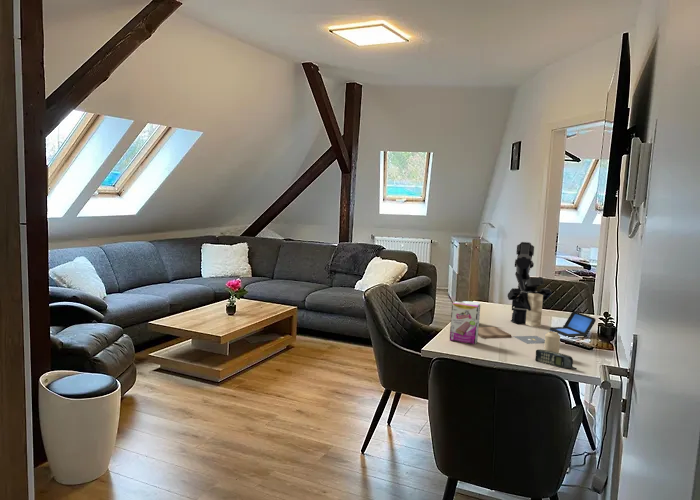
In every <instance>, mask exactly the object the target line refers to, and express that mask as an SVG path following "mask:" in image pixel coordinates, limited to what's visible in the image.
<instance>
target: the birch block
mask: <svg viewBox="0 0 700 500" xmlns="http://www.w3.org/2000/svg"><path fill="white" fill-rule="evenodd" d="M543 301H544V300H543V295H542V294H539V293H528V302H529V305H530V308H531V310H530V311H529V310H528V309H527V313H526V324H525V325H526V326H528V327H532V328H537V327H538V328H539V327H541V325H542V311H543Z"/></svg>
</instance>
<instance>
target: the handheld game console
mask: <svg viewBox="0 0 700 500" xmlns="http://www.w3.org/2000/svg"><path fill="white" fill-rule="evenodd" d="M595 323H596V318H595V317H592V316H590V315H586V314H583V313H581V312H578V311H572V312H571V313H570V315H569V316H568V318H567V320H566V321H565V323H564V325H563V326H553V327H549V331H553V332H557V333H558V334H559V335H560V336H564V337H566V336H568V337H567V338H569V337H575V336H584V337H587V338H588V335H589V333H590V332H591V330H592V328H593V326H594V324H595Z"/></svg>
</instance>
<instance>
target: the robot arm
mask: <svg viewBox="0 0 700 500" xmlns="http://www.w3.org/2000/svg"><path fill="white" fill-rule="evenodd" d="M515 251H516V255H517V257H516V258H515V261H514V267H515V268H516V270H515V271H516V272H515V274H514V275H515V278H516V282H517V283H518V286H517V287H516V288H515V287H512V288H511V289H510V291H508V293H507V299H508V300H509V301H512V302H511V311H512V313H511V320H510V322H512V323H514V324H517V325H526V313H527V309H528V310H529V311H530V310H531V308H530V305H529V302H528V293H539V294H542V295H543V301H546V300H548V298H550V296H551V295H552V290H551V289H550V288H540V290H539V291H537V290H538V287H540V286H542V285H544V283H545V282H544V278H543V277H542V276H538V277H531V276H530V273H531V272H530V271H531V269H532V268H534V264H535V263H534V262H533V257H534V254H535V246H534V245H532V243H531V242H528V241H521V242H520V243H519V244H517V245H516V250H515Z"/></svg>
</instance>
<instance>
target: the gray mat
mask: <svg viewBox="0 0 700 500" xmlns="http://www.w3.org/2000/svg"><path fill="white" fill-rule="evenodd" d="M512 338H514V339H517V340H519V341H521V342H523V343H525V344H526V345H530V344H531V345H533V344H535V345H536V344H545V338H542V337H539V336H538V335H516V336H515V335H514V336H512Z"/></svg>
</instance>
